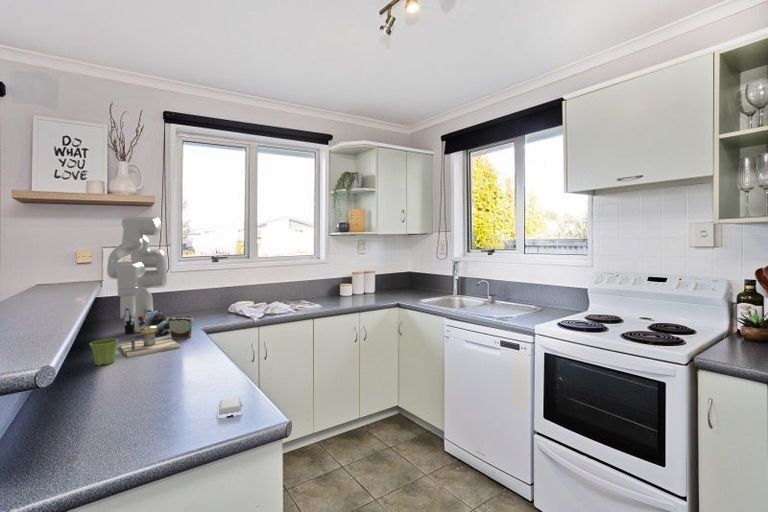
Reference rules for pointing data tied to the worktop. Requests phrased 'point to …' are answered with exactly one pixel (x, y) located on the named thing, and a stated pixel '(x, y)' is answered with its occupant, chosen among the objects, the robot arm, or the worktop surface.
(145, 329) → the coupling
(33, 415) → the worktop surface
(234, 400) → the soap
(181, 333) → the food container
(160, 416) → the worktop surface
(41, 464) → the worktop surface
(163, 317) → the lucky cat figurine
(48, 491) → the worktop surface
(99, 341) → the plant pot
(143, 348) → the post base
